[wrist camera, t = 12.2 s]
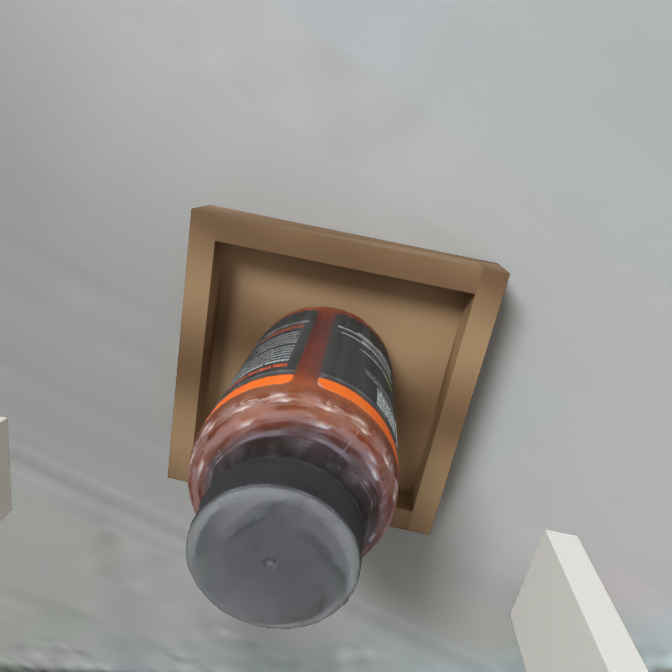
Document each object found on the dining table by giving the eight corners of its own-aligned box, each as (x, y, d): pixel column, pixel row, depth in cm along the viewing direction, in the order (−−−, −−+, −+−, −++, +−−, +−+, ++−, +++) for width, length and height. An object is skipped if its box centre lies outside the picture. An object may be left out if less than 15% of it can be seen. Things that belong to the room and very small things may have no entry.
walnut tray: (209, 205, 21) (191, 208, 19) (498, 263, 20) (510, 273, 18) (184, 453, 25) (167, 477, 23) (426, 506, 24) (429, 535, 22)
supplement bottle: (232, 385, 22) (94, 584, 12) (299, 274, 21) (210, 390, 10) (344, 452, 23) (313, 700, 12) (420, 351, 21) (460, 539, 10)
